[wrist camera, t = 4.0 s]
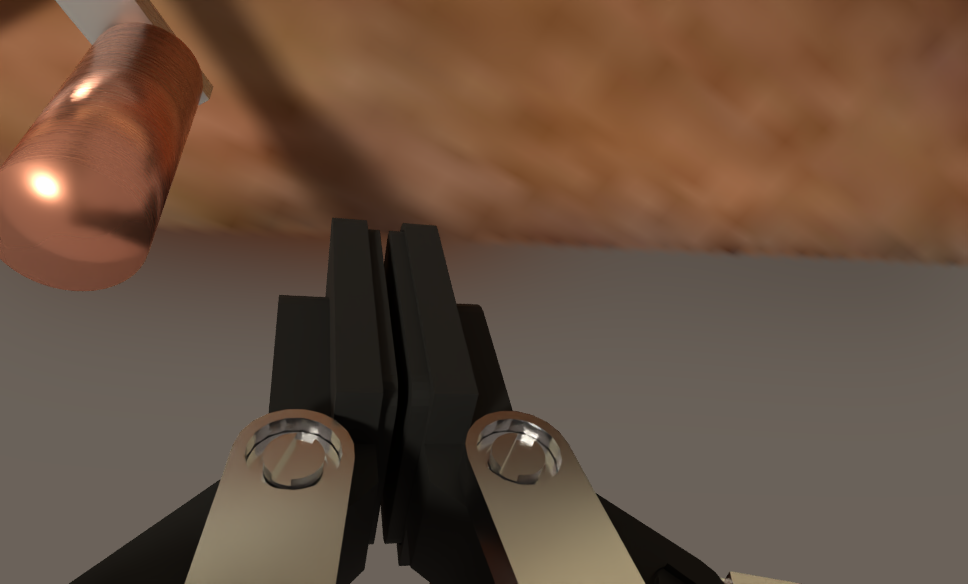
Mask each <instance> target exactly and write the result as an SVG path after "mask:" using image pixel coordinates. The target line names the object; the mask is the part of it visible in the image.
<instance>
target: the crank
mask: <svg viewBox="0 0 968 584" xmlns="http://www.w3.org/2000/svg"><path fill="white" fill-rule="evenodd" d="M55 1H56V2H57V3H58V4H59V5H60V7H61V8H62V9H63V10H64V12H65V13H66V14H67V15H68V16H69V18H70V19H71V20H72V21H73V22H74V24H75V25H76V26H77V27H78V28H79V30H80V31H81V32H82V33H83V35H84V36H85V37H86V38H87V39H88V41H89V42H90V43H91V44H92V46H91V48H90V49H89V50H88V52H87V53H86V54H85V56H84V57H83V58H82V60H81V61H80V62H79V63H78V65H77V66H76V67H75V69H74V70H73V71H72V73H71V74H70V75H69V77H68V78H67V79H66V81H65V82H64V83H63V85H62V86H61V87H60V89H59V90H58V91H57V93H56V94H55V95H54V97H53V98H52V99H51V101H50V102H49V103H48V105H47V106H46V107H45V109H44V110H43V111H42V113H41V114H40V115H39V117H38V118H37V119H36V121H35V122H34V123H33V125H32V126H31V127H30V129H29V130H28V131H27V133H26V134H25V135H24V137H23V138H22V139H21V141H20V142H19V143H18V145H17V146H16V147H15V149H14V150H13V151H12V153H11V154H10V155H9V157H8V158H7V159H6V161H5V162H4V163H3V165H2V166H1V167H0V259H1V260H2V261H3V262H4V263H6V264H7V265H8V266H9V267H11V268H12V269H13V270H15V271H16V272H18V273H20V274H21V275H23V276H25V277H27V278H29V279H31V280H33V281H36V282H38V283H41V284H43V285H47V286H50V287H53V288H59V289H63V290H71V291H94V290H100V289H105V288H108V287H112V286H115V285H117V284H120V283H122V282H124V281H125V280H127V279H129V278H130V277H131V276H133V275H134V274H135V273H136V272H137V271H138V270H139V269H140V268H141V266H142V265H143V263H144V262H145V260H146V258H147V255H148V253H149V250H150V247H151V244H152V241H153V238H154V235H155V232H156V229H157V226H158V223H159V220H160V217H161V214H162V211H163V208H164V205H165V202H166V199H167V196H168V193H169V190H170V187H171V184H172V182H173V179H174V176H175V173H176V170H177V167H178V164H179V161H180V158H181V155H182V152H183V149H184V146H185V143H186V140H187V137H188V134H189V131H190V128H191V125H192V122H193V119H194V116H195V113H196V110H197V107H198V105H200V104H202V103H204V102H206V101H208V100H209V99H210V95H211V92H212V89H213V86H212V84H211V83H210V82H209V80H208V79H207V77H206V76H205V75H204V73H203V72H202V71H201V69H200V66H199V64H198V62H197V60H196V58H195V56H194V55H193V53H192V52H191V50H190V49H189V48H188V47H187V46H186V45H185V44H184V43H183V42H182V41H181V40H180V39H179V38H177V37H176V35H175V34H174V33H173V31H172V30H171V29H170V27H169V26H168V25H167V23H166V22H165V20H164V19H163V18H162V16H161V15H160V14H159V12H158V11H157V10H156V8H155V7H154V5H153V4H152V3H151V1H150V0H55Z"/></svg>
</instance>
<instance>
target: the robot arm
mask: <svg viewBox="0 0 968 584" xmlns="http://www.w3.org/2000/svg"><path fill="white" fill-rule="evenodd" d="M328 261H329V262H328V273H327V285H326V297H308V296H289V295H279V302H278V313H277V324H276V336H275V347H274V359H273V371H272V382H271V393H270V404H269V413H268V414H266V415H264V416H262V417H260V418H258V419H256V420H254V421H252V422H251V423H250V424H249V425H248V426H247V427H245V428H244V429H243V430H242V431H241V432H240V433H239V435H238V437H237V439H236V440H235V442H234V444H233V446H232V449H231V451H230V454H229V457H228V460H227V463H226V466H225V469H224V471H223V474H222V478H221V479H220V480H219V481H217V482H216V483H214V484H213V485H211V486H210V487H208V488H207V489H206V490H204V491H203V492H201V493H200V494H198V495H197V496H195V497H194V498H193V499H191V500H190V501H188V502H187V503H186V504H184V505H182V506H181V507H180V508H178V509H177V510H175V511H174V512H172V513H171V514H169V515H168V516H166V517H165V518H164V519H162V520H161V521H159V522H158V523H156V524H155V525H153V526H152V527H150V528H149V529H148V530H146V531H145V532H143V533H142V534H140V535H139V536H138V537H136V538H135V539H133V540H132V541H130V542H129V543H127V544H126V545H124V546H123V547H121V548H120V549H119V550H117V551H116V552H114V553H113V554H111V555H110V556H109V557H107V558H106V559H104V560H103V561H101V562H100V563H98V564H97V565H95V566H94V567H92V568H91V569H90V570H88V571H87V572H85V573H84V574H82V575H81V576H79V577H78V578H77V579H75V580H74V581H72V582H71V583H69V584H350V583H351V582H352V581H353V580H354V579H355V578H356V577H357V576H358V575H359V574H360V573H361V572H362V571H363V570H364V568H365V562H366V555H367V549H368V544H373V543H374V540H375V534H376V528H377V522H378V516H379V511H380V505H381V515H382V528H383V539H384V543H385V544H389V543H397V552H398V563H399V566H408V565H410V566H411V568H412V569H414V570H415V571H416V572H417V573H419V574H420V575H421V576H423V577H424V578H425V579H426V580H428V581H429V582H430V583H429V584H800V583H793V582H788V581H783V580H777V579H771V578H766V577H759V576H754V575H748V574H743V573H737V572H731V571H730V572H729V573H728V575H727V576H726V578H725V579H724V578H720V577H719V576H718V575H717V574H716V572H714V571H713V570H712V569H711V568H709V567H708V566H707V565H706V564H704V563H703V562H702V561H701V560H699V559H698V558H696V557H694V556H693V555H691V554H690V553H688V552H687V551H685V550H684V549H682V548H681V547H679V546H677V545H676V544H674V543H673V542H671V541H670V540H668V539H666V538H665V537H663V536H662V535H660V534H659V533H657V532H656V531H654V530H652V529H651V528H649V527H648V526H646V525H645V524H643V523H642V522H640V521H638V520H637V519H635V518H634V517H632V516H631V515H629V514H627V513H626V512H624V511H623V510H621V509H620V508H618V507H617V506H615V505H614V504H612V503H610V502H609V501H607V500H606V499H604V498H603V497H601V496H599V495H598V494H596V493H595V491H594V490H593V488H592V486H591V484H590V482H589V480H588V479H587V477H586V475H585V473H584V472H583V470H582V468H581V466H580V464H579V462H578V460H577V459H576V457H575V455H574V453H573V451H572V450H571V448H570V446H569V444H568V443H567V441H566V440H565V439H564V437H563V436H562V435H561V433H560V432H559V431H558V430H556V429H555V428H554V427H553V426H551V425H550V424H549V423H547V422H545V421H543V420H542V419H539V418H537V417H535V416H533V415H530V414H526V413H522V412H518V411H513V410H512V407H511V404H510V400H509V397H508V393H507V390H506V387H505V384H504V380H503V376H502V373H501V370H500V366H499V363H498V360H497V356H496V353H495V349H494V346H493V343H492V339H491V336H490V333H489V329H488V326H487V322H486V319H485V316H484V312H483V310H482V308H481V307H480V306H479V305H473V304H456V301H455V297H454V293H453V290H452V285H451V281H450V277H449V273H448V269H447V265H446V261H445V257H444V253H443V249H442V245H441V241H440V237H439V233H438V229H437V226H433V225H420V224H407V223H403V224H402V226H401V230H400V232H397V231H389V234H388V239H387V246H386V253H385V261H384V262H383V254H382V246H381V237H380V231H379V230H370V229H368V225H367V221H366V220H355V219H342V218H332V224H331V236H330V249H329V260H328Z"/></svg>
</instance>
